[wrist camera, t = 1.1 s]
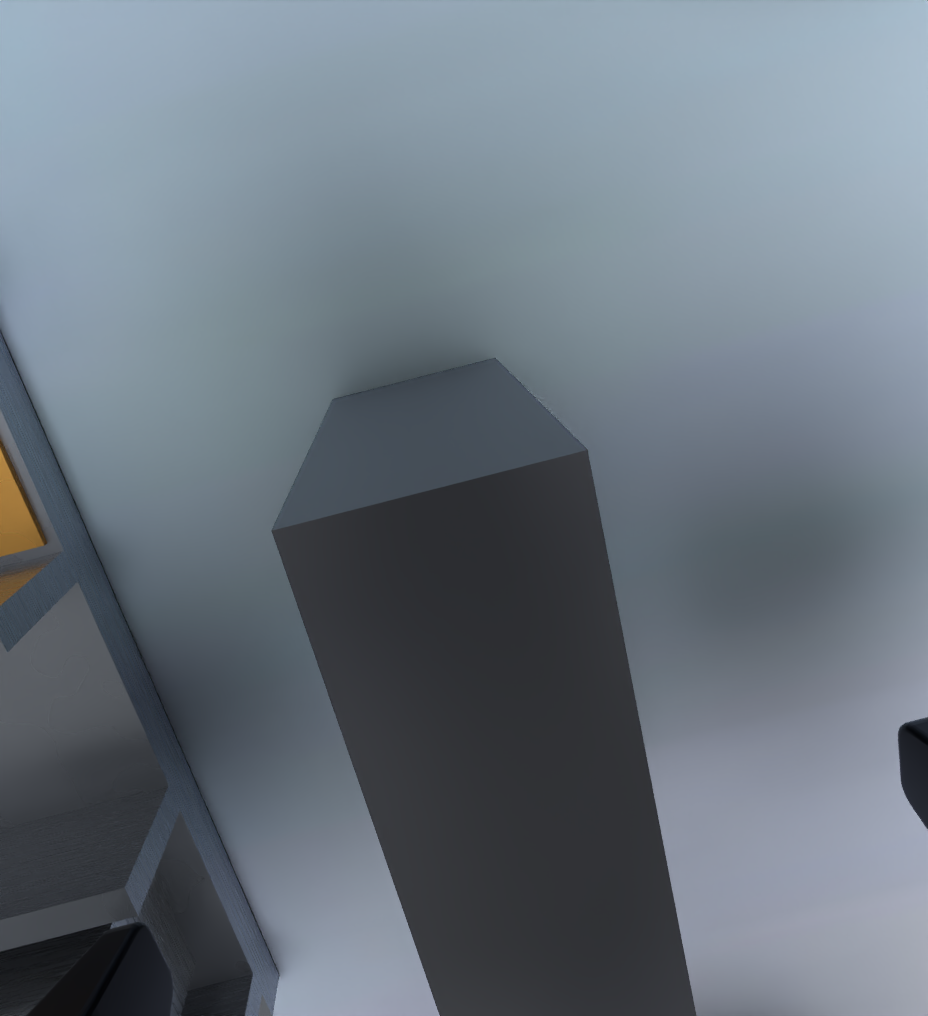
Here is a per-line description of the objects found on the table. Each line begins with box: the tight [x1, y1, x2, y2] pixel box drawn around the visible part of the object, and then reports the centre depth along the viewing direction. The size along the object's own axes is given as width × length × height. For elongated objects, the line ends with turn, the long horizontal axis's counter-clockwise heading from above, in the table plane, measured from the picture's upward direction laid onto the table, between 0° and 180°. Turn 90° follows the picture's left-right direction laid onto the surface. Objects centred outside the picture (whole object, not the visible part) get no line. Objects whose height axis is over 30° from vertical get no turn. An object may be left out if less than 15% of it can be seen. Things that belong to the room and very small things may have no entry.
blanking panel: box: [272, 358, 696, 1016], centre depth 12 cm, size 3×9×7 cm, turn 14°
